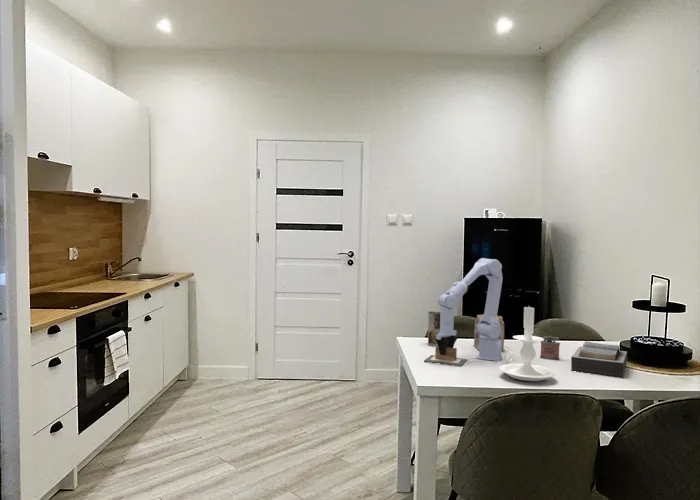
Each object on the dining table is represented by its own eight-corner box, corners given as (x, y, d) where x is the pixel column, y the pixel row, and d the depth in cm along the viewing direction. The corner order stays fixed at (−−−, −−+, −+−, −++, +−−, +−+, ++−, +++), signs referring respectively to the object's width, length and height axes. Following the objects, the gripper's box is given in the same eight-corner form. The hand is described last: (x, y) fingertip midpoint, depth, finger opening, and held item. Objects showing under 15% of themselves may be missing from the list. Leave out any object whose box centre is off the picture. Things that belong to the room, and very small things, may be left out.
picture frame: (467, 360, 235) (467, 358, 234) (461, 366, 224) (461, 364, 224) (431, 356, 241) (431, 354, 241) (423, 362, 230) (423, 360, 230)
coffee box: (446, 344, 268) (447, 311, 268) (447, 346, 262) (448, 313, 261) (427, 343, 269) (428, 311, 269) (428, 346, 263) (429, 312, 262)
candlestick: (524, 367, 225) (526, 300, 224) (567, 383, 202) (570, 308, 201) (482, 370, 218) (484, 301, 217) (522, 388, 195) (524, 310, 194)
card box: (439, 357, 236) (440, 345, 236) (456, 360, 231) (456, 348, 231) (435, 358, 233) (435, 347, 233) (451, 361, 228) (452, 350, 228)
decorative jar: (503, 352, 253) (505, 313, 253) (478, 351, 254) (480, 313, 253) (497, 346, 265) (498, 310, 265) (473, 346, 265) (474, 309, 265)
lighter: (539, 358, 242) (540, 336, 242) (540, 356, 245) (541, 334, 245) (558, 360, 238) (559, 338, 238) (559, 359, 241) (560, 336, 241)
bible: (638, 368, 229) (639, 345, 228) (620, 381, 208) (621, 355, 208) (581, 359, 244) (582, 337, 244) (559, 369, 224) (560, 346, 223)
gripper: (446, 325, 224) (445, 358, 224) (463, 321, 235) (462, 352, 235) (432, 323, 228) (431, 355, 228) (448, 319, 239) (447, 350, 240)
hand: (446, 353), depth 232 cm, fingers open, 5 cm apart
